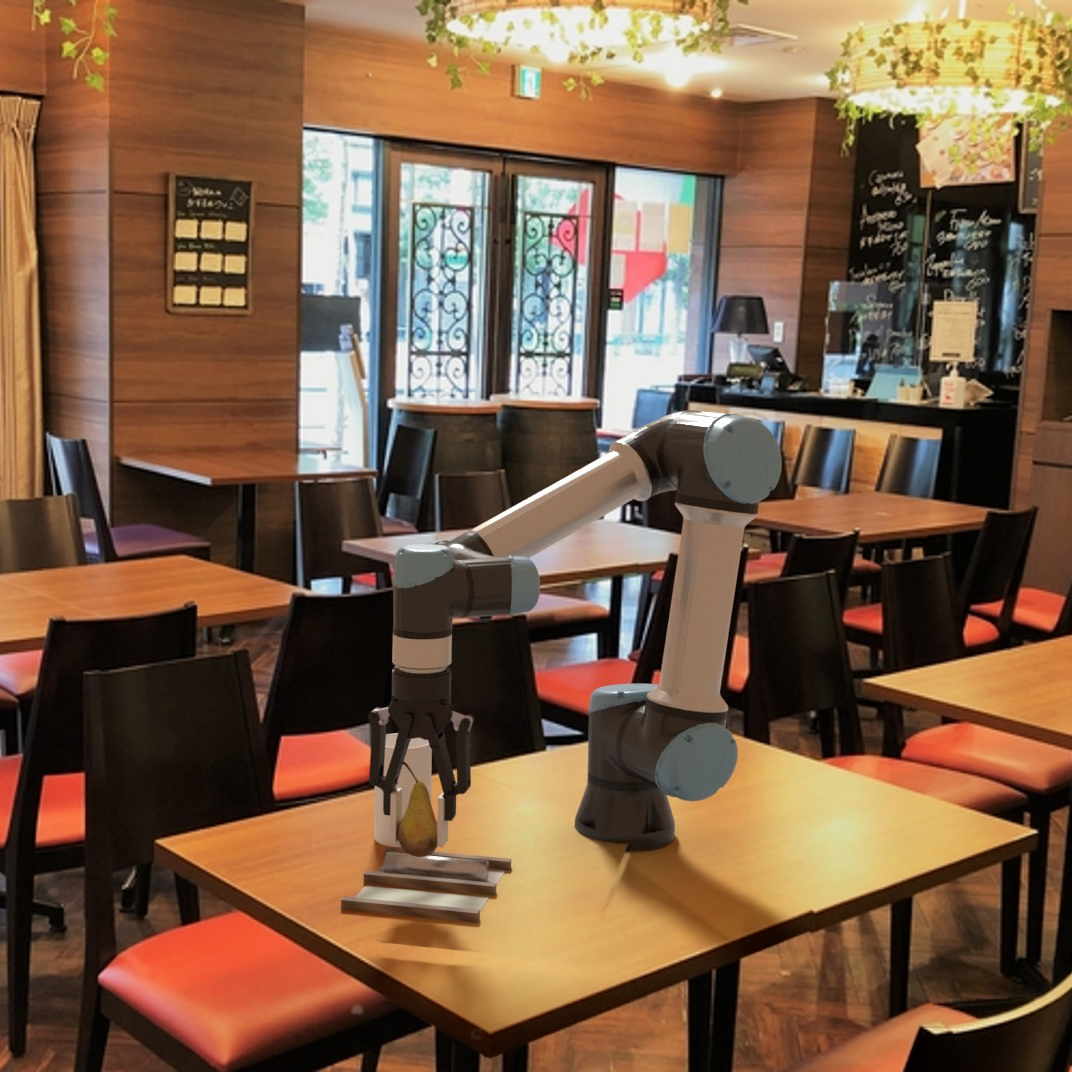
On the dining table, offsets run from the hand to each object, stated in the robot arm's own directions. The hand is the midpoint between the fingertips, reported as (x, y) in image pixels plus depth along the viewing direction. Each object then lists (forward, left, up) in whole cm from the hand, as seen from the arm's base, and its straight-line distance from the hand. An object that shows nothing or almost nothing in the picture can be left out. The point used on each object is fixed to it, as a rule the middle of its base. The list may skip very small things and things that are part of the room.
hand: (419, 841), depth 194 cm
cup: (+9, -23, -10) cm, 27 cm away
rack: (0, -5, -10) cm, 11 cm away
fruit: (0, 0, -2) cm, 2 cm away
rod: (0, -10, -7) cm, 12 cm away
